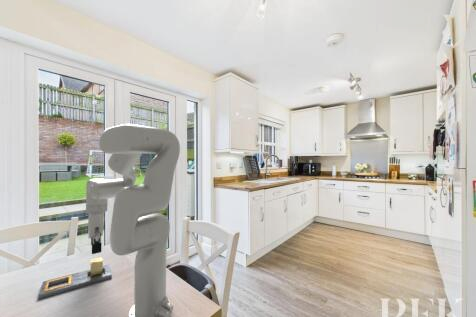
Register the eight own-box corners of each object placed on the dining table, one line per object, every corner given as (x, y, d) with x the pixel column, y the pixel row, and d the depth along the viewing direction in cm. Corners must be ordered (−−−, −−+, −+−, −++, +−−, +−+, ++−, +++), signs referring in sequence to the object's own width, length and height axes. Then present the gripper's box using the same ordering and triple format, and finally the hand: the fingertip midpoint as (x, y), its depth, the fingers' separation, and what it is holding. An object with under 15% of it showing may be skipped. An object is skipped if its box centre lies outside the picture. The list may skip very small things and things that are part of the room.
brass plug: (101, 273, 89) (101, 257, 89) (102, 277, 86) (102, 260, 86) (90, 276, 87) (90, 259, 87) (90, 280, 84) (90, 263, 84)
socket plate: (109, 267, 93) (109, 264, 93) (111, 278, 85) (111, 274, 85) (43, 285, 80) (43, 281, 80) (38, 299, 72) (38, 294, 72)
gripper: (85, 204, 91) (84, 243, 91) (85, 214, 77) (84, 259, 78) (105, 203, 96) (104, 239, 96) (109, 211, 82) (108, 254, 82)
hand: (95, 248), depth 87 cm, fingers open, 9 cm apart
